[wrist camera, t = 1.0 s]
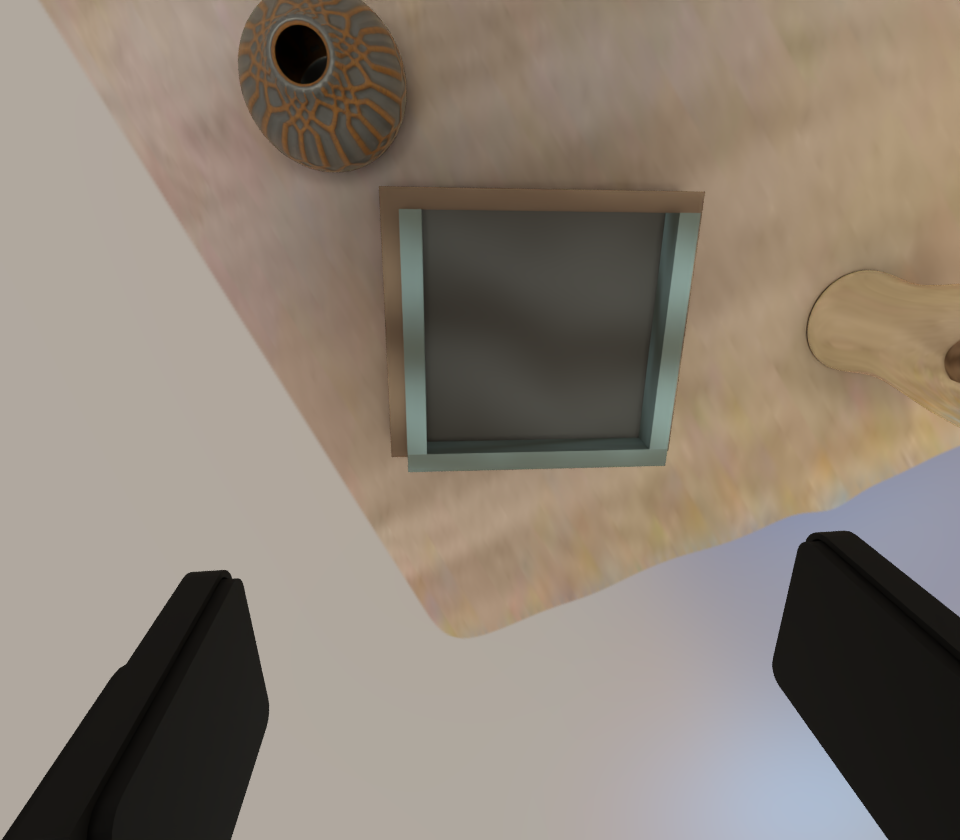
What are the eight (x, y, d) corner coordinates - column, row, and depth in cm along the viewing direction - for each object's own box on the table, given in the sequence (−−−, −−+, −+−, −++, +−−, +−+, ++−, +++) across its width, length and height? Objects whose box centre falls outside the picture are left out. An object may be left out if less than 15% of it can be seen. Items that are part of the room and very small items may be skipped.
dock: (384, 188, 29) (374, 184, 24) (679, 193, 30) (724, 190, 26) (394, 436, 34) (389, 472, 29) (649, 431, 35) (682, 465, 31)
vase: (397, 190, 29) (384, 181, 21) (261, 159, 28) (192, 137, 20) (420, 39, 27) (415, -36, 19) (273, -1, 26) (200, -99, 18)
